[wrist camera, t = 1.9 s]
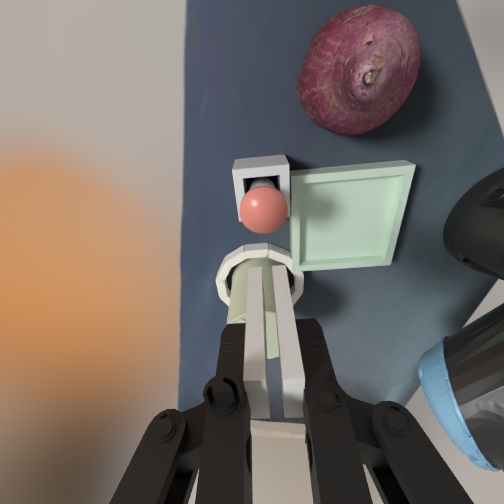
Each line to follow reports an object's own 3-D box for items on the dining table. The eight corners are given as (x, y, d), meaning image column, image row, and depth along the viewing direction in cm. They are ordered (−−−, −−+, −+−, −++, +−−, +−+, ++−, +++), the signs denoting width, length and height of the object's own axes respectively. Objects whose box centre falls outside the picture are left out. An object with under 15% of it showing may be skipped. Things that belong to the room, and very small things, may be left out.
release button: (281, 168, 27) (287, 186, 22) (282, 207, 30) (288, 231, 25) (240, 172, 28) (236, 190, 22) (244, 210, 30) (242, 235, 25)
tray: (404, 159, 30) (415, 164, 28) (383, 255, 38) (390, 265, 35) (288, 170, 31) (291, 176, 29) (290, 262, 38) (292, 271, 36)
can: (263, 245, 37) (266, 302, 27) (299, 281, 41) (313, 343, 30) (220, 276, 40) (207, 338, 30) (257, 307, 44) (257, 371, 34)
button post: (284, 154, 30) (289, 164, 26) (285, 201, 33) (290, 217, 29) (235, 159, 30) (232, 169, 26) (241, 205, 33) (239, 221, 29)
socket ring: (302, 240, 36) (304, 246, 35) (301, 306, 44) (302, 314, 42) (211, 247, 37) (209, 253, 36) (225, 311, 44) (224, 318, 43)
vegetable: (297, 127, 31) (275, 177, 20) (303, 14, 25) (275, -3, 14) (388, 128, 29) (418, 184, 18) (423, 2, 22) (505, -30, 11)
